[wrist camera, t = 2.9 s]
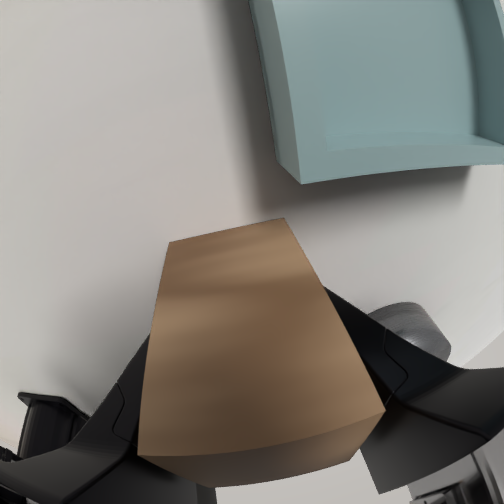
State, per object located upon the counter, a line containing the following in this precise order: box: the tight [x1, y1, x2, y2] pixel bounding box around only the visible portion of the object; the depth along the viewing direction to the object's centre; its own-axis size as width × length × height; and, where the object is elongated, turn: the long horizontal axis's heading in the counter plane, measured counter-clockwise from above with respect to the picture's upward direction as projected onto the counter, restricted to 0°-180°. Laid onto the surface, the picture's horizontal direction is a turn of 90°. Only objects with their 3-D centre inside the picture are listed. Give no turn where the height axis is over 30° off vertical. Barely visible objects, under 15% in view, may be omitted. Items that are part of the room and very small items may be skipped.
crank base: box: [368, 302, 451, 361], centre depth 13 cm, size 9×10×3 cm
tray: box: [248, 0, 504, 184], centre depth 5 cm, size 10×10×2 cm
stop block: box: [137, 218, 386, 488], centre depth 7 cm, size 4×4×7 cm
